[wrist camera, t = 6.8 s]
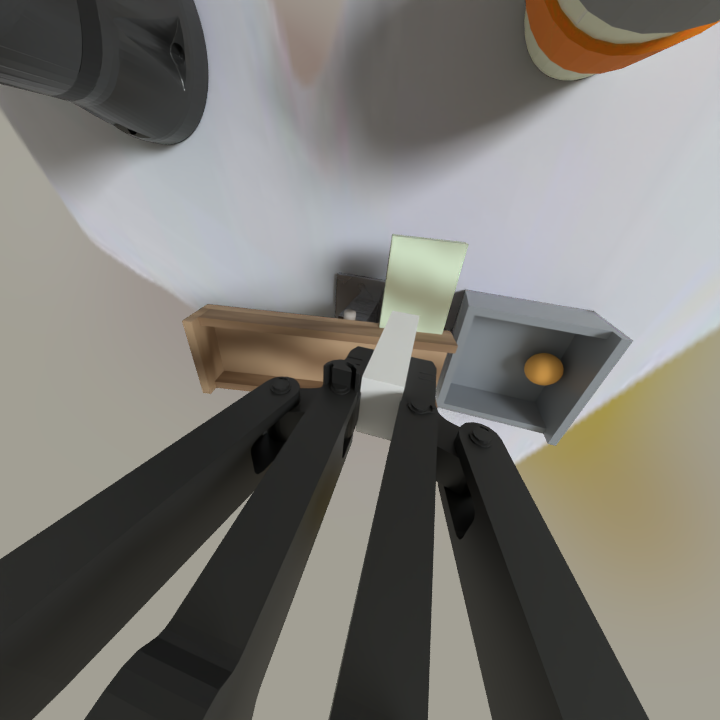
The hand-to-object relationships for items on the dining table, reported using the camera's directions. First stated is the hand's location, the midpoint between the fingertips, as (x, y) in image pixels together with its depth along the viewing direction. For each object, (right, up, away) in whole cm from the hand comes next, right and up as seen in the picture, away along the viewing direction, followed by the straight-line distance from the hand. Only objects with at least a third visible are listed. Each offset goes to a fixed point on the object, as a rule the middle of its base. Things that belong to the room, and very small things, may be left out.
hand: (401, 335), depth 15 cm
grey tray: (+15, 0, +17) cm, 23 cm away
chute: (-5, +3, +12) cm, 14 cm away
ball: (+18, -2, +14) cm, 23 cm away
